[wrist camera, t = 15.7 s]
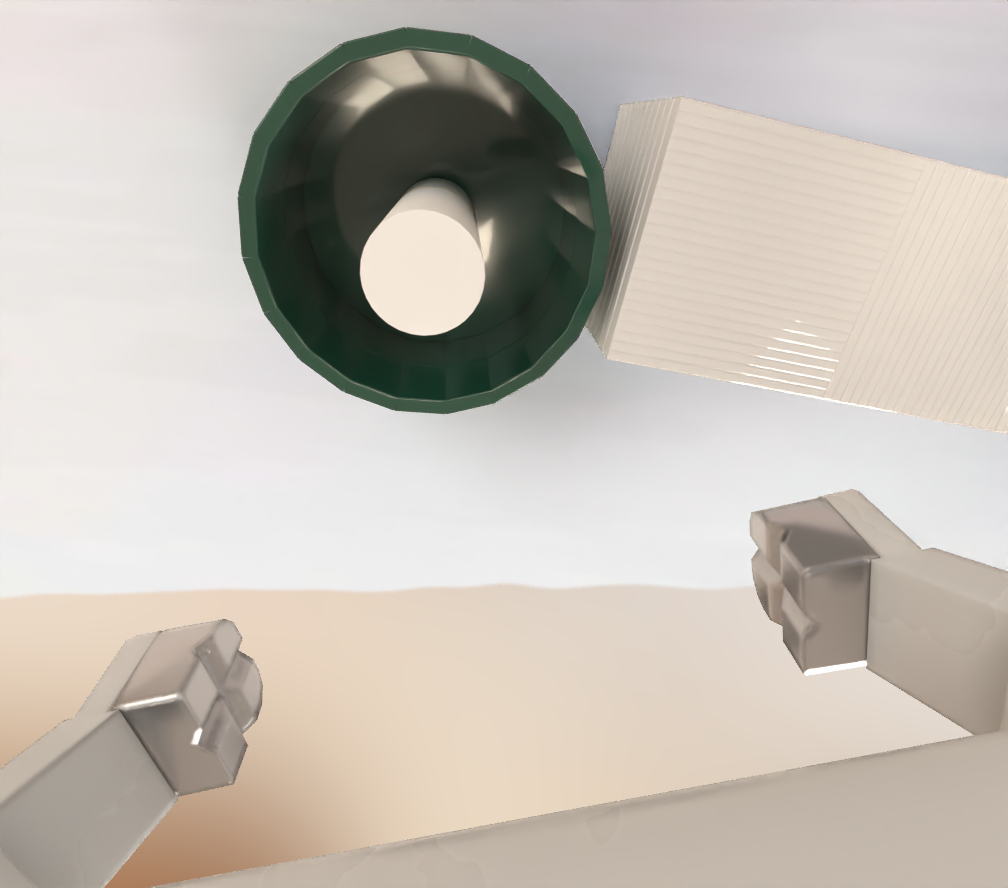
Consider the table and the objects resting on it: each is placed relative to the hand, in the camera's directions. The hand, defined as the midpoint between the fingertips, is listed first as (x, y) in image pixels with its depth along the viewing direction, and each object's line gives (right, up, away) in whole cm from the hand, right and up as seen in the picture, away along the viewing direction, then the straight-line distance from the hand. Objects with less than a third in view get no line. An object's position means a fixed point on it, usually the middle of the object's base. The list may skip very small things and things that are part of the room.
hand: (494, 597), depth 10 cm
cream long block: (+21, +13, +29) cm, 38 cm away
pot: (-4, +15, +26) cm, 31 cm away
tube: (-4, +15, +26) cm, 30 cm away
